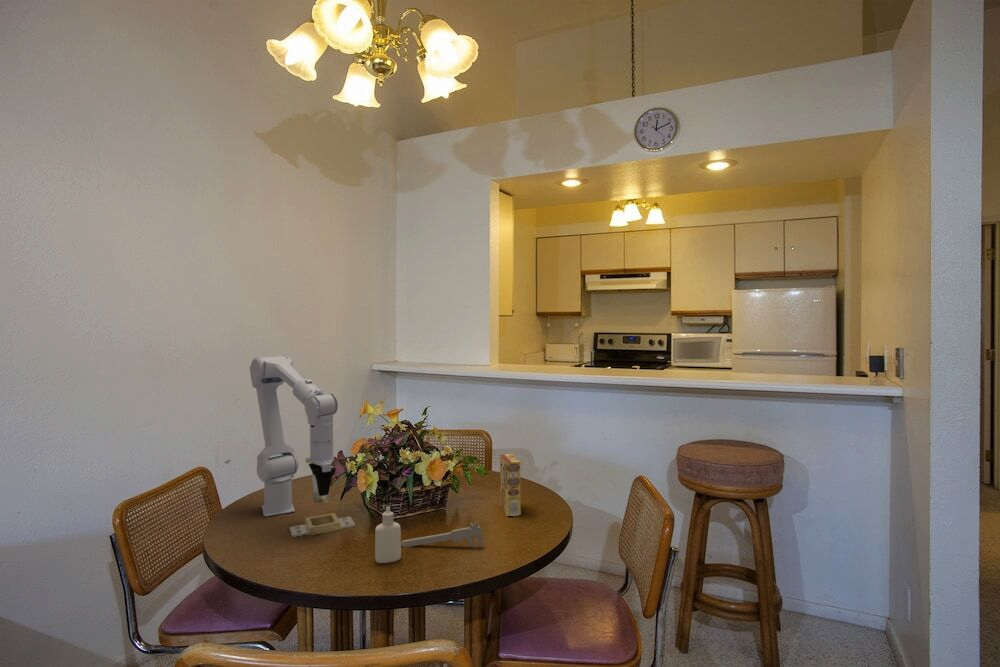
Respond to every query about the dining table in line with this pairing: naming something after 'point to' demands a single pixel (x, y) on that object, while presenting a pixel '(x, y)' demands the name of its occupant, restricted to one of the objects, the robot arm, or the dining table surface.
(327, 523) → the cream tabbed socket tray
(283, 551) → the dining table surface
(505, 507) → the candy box
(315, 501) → the translucent cylinder
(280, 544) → the dining table surface
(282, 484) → the robot arm
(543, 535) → the dining table surface
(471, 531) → the caliper
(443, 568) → the dining table surface
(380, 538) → the eye dropper bottle
